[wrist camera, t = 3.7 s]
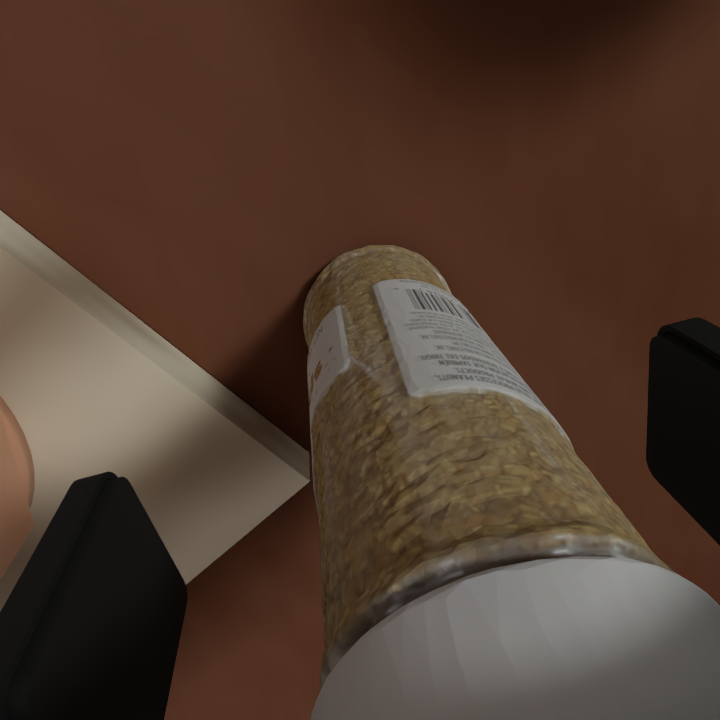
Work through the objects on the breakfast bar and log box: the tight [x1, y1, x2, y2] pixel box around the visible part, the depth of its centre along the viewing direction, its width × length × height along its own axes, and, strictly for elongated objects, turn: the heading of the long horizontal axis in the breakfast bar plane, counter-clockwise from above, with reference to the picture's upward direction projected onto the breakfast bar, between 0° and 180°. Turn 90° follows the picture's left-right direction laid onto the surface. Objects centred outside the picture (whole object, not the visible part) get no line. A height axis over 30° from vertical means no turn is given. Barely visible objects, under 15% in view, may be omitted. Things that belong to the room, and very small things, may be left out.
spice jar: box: [303, 245, 720, 720], centre depth 10 cm, size 5×5×13 cm
